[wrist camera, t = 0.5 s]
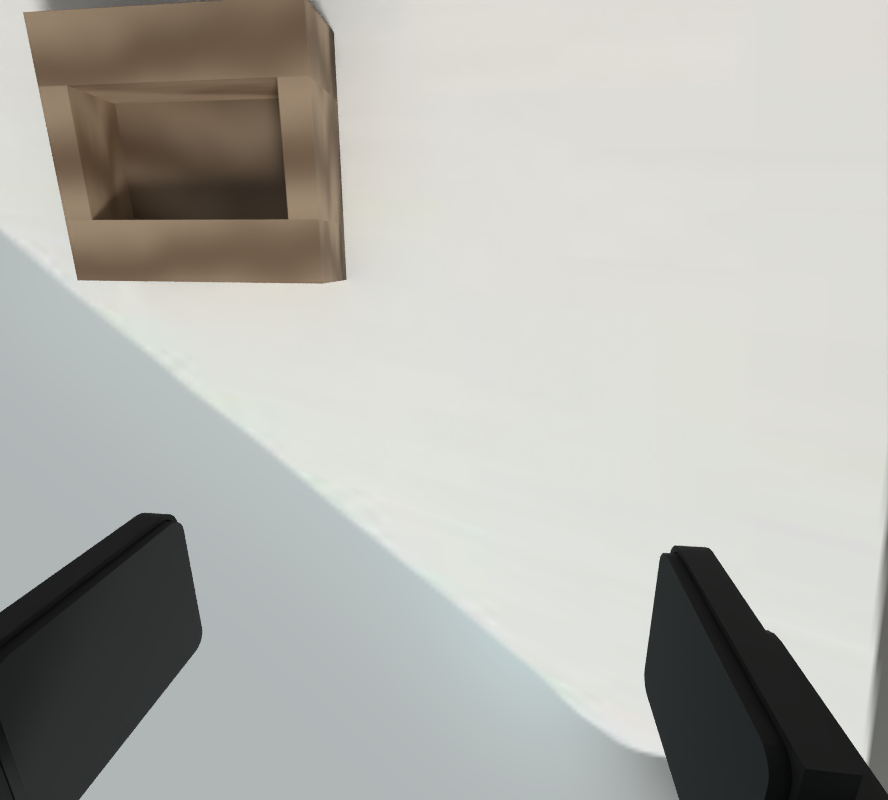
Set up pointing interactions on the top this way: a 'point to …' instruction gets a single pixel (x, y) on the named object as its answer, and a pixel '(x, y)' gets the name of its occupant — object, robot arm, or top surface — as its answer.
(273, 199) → the walnut well
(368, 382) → the top surface
